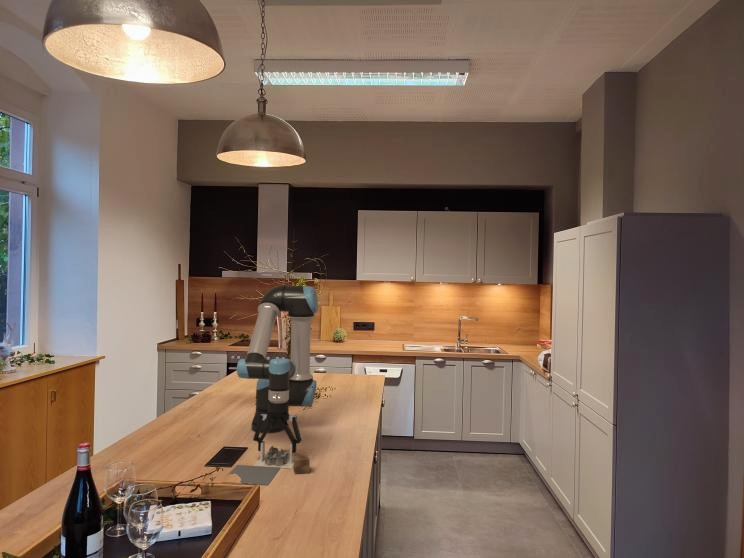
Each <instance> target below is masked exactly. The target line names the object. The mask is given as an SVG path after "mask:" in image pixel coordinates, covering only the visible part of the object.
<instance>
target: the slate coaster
mask: <svg viewBox="0 0 744 558" xmlns="http://www.w3.org/2000/svg"><path fill="white" fill-rule="evenodd" d="M280 469H282V468H281V467H265V466H254V465H249V464H248V465H247V464H246V465H245V464H237V465H236V466H234V467H233V468H232V469H231V471H230V472H229V473H228V474H227V475H229V474H234V473H235V474H237V475H238V476H239V477H240V478H241V481H240V482H241V483H249V484H248V485H253V484H259V485H258V486H269V485H270V484H271V482H272V481H273V479H274V478H275V477H276V475H277V473H279V471H280ZM250 483H251V484H250Z"/></svg>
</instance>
